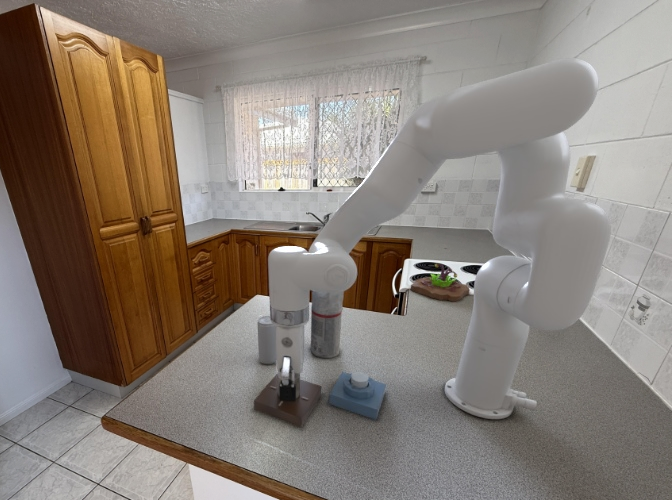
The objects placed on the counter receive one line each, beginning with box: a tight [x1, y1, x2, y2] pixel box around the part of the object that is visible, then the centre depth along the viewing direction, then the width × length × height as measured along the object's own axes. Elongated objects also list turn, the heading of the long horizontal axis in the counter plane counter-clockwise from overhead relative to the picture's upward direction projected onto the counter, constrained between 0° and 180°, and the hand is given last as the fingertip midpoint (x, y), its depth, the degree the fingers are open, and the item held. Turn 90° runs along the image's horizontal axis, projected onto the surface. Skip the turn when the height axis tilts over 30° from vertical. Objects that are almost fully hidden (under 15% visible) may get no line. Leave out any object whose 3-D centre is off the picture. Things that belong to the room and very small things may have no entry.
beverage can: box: [257, 315, 277, 365], centre depth 81 cm, size 5×5×12 cm
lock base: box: [253, 373, 323, 429], centre depth 68 cm, size 11×11×3 cm
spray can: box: [310, 291, 345, 359], centre depth 83 cm, size 8×8×20 cm
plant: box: [410, 263, 471, 302], centre depth 124 cm, size 20×20×11 cm
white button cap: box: [350, 371, 369, 389], centre depth 67 cm, size 4×4×2 cm
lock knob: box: [276, 367, 301, 398], centre depth 66 cm, size 5×5×5 cm
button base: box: [328, 371, 387, 421], centre depth 68 cm, size 10×9×4 cm
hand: (290, 384), depth 66 cm, fingers open, 9 cm apart
